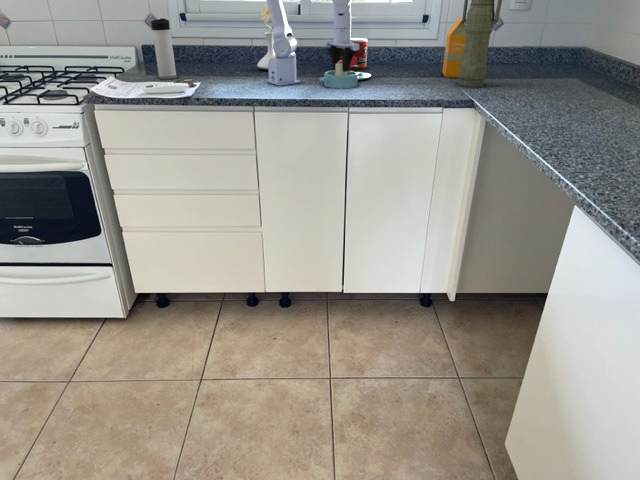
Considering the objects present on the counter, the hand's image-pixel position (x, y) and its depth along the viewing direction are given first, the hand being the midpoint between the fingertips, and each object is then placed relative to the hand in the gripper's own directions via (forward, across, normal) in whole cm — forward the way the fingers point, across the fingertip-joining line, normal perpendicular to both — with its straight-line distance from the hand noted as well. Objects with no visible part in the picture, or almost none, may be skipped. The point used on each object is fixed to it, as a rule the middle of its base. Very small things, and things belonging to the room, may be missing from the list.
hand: (341, 70), depth 169 cm
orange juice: (+5, -15, -46) cm, 48 cm away
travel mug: (+5, +52, +40) cm, 65 cm away
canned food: (+5, +21, -29) cm, 36 cm away
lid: (+4, +6, -13) cm, 15 cm away
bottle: (+4, 0, 0) cm, 4 cm away
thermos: (+5, -30, -34) cm, 46 cm away
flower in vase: (+5, +39, +1) cm, 40 cm away
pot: (+5, 0, 0) cm, 5 cm away
